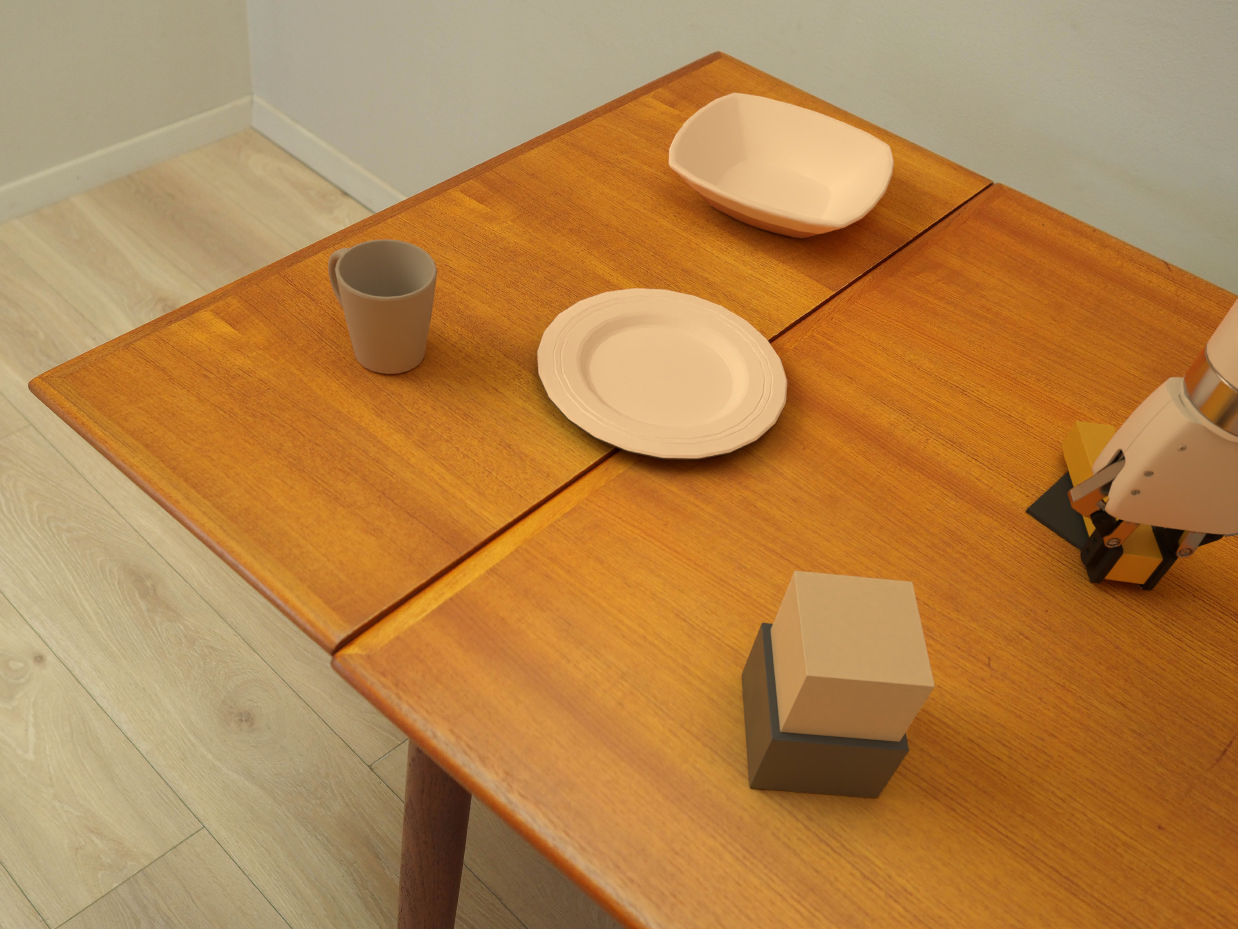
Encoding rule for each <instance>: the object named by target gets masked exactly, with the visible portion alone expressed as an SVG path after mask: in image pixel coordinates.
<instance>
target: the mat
mask: <svg viewBox="0 0 1238 929" xmlns="http://www.w3.org/2000/svg"><path fill="white" fill-rule="evenodd" d="M1072 488H1074V487H1073V483H1072V480H1071V477H1070V474H1069V471H1066V473H1064V474H1063V475H1062V476H1061V477H1060V478H1059V479H1057V481H1056V482H1054V483H1053V484H1052V485H1051V486H1050V487H1049V488H1047V490H1046V491H1045V492H1044V493H1042V494H1041V495H1040V496H1039V497H1038V498H1037V499H1036V500H1035V501H1034V502H1033V503H1031V505H1029V506H1028V507H1027V508H1026V510H1025V513H1027V514H1028V515H1030V516H1031V517H1032V518H1034V519H1035V520H1037V521H1038V522H1040V524H1042V525H1044V527H1045V526H1046V527H1047V528H1048V529H1049V530H1051V531H1052V532H1054V533H1055V534H1057V535H1058V536H1059V537H1061V538H1062V539H1063V540H1065V541H1067V542H1068V543H1069V544H1071V545H1072V546H1074V547H1075V548H1077V549H1078V550H1079V551H1081V549H1082V547H1083V546H1084V544H1085V543H1086V541H1087V540H1088V539H1089V534H1088V531H1087V528H1086V525H1085V522H1084V518H1083V515H1082V514H1080V513H1079V512H1077V511H1076V510H1074V509H1073V508H1072V507H1071V503H1070V500H1069V497H1068V491H1069V490H1070V489H1072ZM1151 527H1152V529H1155V527H1156V526H1152V525H1151Z"/></svg>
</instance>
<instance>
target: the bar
mask: <svg viewBox="0 0 1238 929" xmlns="http://www.w3.org/2000/svg"><path fill="white" fill-rule="evenodd" d="M1116 432H1117V429H1116V427H1115V425H1113V424H1112V425H1110V424H1104V423H1097V422H1090V421H1083V420H1075V422H1074V423H1073V424H1072V426H1071V428H1070V430H1069V431H1068V433H1067V434H1066V436H1065V438H1064V439H1063V441H1062V443H1061V444H1060V448H1061V451H1062V454H1063V455H1062V456H1063V457H1064V462H1065V464H1066V467H1067V470H1068V471H1069V474H1070V477H1071V480H1072V483H1073V487H1075V486H1077V485H1078V484H1080V483H1082V482H1083V481H1085V480H1087V479H1088V478H1090V477H1092V476H1093V473H1092V467H1093V465H1094V463H1095V461H1096V459H1097V458H1098V456H1099V455H1100V454H1101V452H1102V451H1103V449H1104V448H1105V446H1106V445H1107V444H1108V442H1109V441H1110V440H1111V438H1112V437H1113V436H1114V435H1115V433H1116ZM1068 471H1067V472H1068ZM1108 499H1109V497H1108V496H1107V497H1105V498H1104V499H1103V500H1104V501H1105V502H1106V501H1107V500H1108ZM1083 518H1084V522H1085V525H1086V528H1087V531H1088V534H1089V537H1090V536H1091V534H1092V533H1093V531H1094V530H1095V529H1096V528H1095V527H1094V525H1093V524H1092V521H1091V519H1089V518H1088V517H1085V516H1083ZM1116 520H1117V521H1118V520H1119V519H1118V518H1116ZM1122 547H1123V550H1124V552H1123V555H1122V556H1121V558H1120V559H1119V560H1118V561H1117V563H1116V564H1115V565H1114V567H1113V568H1112V569H1111V571H1110V572H1109V573H1108V575H1107V576H1106V577H1105V579H1104V580H1108V581H1109V580H1110V581H1117V582H1122V583H1123V582H1124V583H1131V584H1138V585H1139V584H1144V583H1145V582H1146V580H1147V579H1148V578H1149V577H1150V575H1151V574H1152V573H1153V572H1154V570H1155V569H1156V568H1157V567H1158V565H1159V564H1160V563H1161V562H1162V560H1163V558H1162V555H1161V552H1160V550H1159V547H1158V544H1157V542H1156V539H1155V536H1154V533H1153V531H1152V527H1151V525H1146V524H1140V525H1139V526H1138V527H1137V528H1136V529H1135V530H1134V531H1133V532H1132V534H1131V535H1130V536H1129V537H1128V538H1127V539H1126V540H1125V541H1124V542H1123V543H1122Z"/></svg>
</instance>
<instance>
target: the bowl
mask: <svg viewBox="0 0 1238 929" xmlns="http://www.w3.org/2000/svg"><path fill="white" fill-rule="evenodd" d="M668 149H669V150H668V166H669V168H671V170H672V171H673V172H675V174H677V175H678V176H679V178H680V179H682V180H683V181H684V182H685V183H686V184H687V185H688V186H689V187H690V188H691V189H693V190H694V191H695V192H696V193H697V195H698V194H699V196H700V197H701V198H702V199H703V200H704V201H705V202H707V203H708V205H710V206H711V207H712V208H714V209H715V210H717V211H719V212H721V213H723V214H725V215H727V216H729V217H731V218H733V219H734V220H737V221H739V222H741V223H744V224H745V225H749V226H751V227H754V228H757V229H759V230H763V231H765V232H770V233H774V234H778V235H782V236H786V237H790V238H797V239H806V238H810V237H814V236H818V235H821V234H826V233H830V232H833V231H837V230H840V229H844V228H846V227H848V226H850V225H853V224H854V223H856V222H858V221H861V220H862V219H863V218H864V217H865V216H866V215H868V214H869V213H870V212H871V211H872V210H873V209H874V208H875V207H876V205H877V204H878V203H879V202H880V200H881V199H882V198H883V196H884V195H885V194H886V192H887V190H888V187H889V185H890V181H891V179H892V177H893V171H894V164H895V161H894V155H893V152H892V148H891V146H890V145H889V144H888V143H886V142H884V141H883V140H881V139H880V138H878V137H876V136H874V135H872V134H871V133H869V132H867V131H865V130H863V129H860V128H858V127H857V126H856V127H855V126H853V125H851V124H849V123H846V122H844V121H842V120H839V119H836V118H834V117H831V116H829V115H826V114H823V113H821V112H819V111H815V110H812V109H808V108H805V107H802V106H798V105H795V104H792V103H789V102H785V101H780V100H778V99H777V100H776V99H772V98H769V97H765V96H761V95H755V94H748V93H743V92H731V93H729V94H726V95H724V96H723V95H722V96H721V97H718V98H715V99H713V100H712V101H711V102H709V103H707V104H705V105H704V106H702V107H700V108H699V109H698V110H697V111H696V112H695V113H694V114H692V115H691V116H690V117H689V118H688V119H686V120H685V122H684V123H683V125H682V126H681V127H680V128H679V129H678V131H677V132H676V134H675V136H674V138H673V140H672V142H671V144H670V146H669V148H668Z"/></svg>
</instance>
